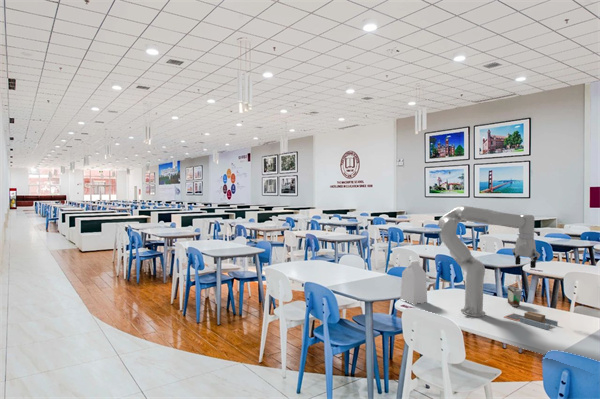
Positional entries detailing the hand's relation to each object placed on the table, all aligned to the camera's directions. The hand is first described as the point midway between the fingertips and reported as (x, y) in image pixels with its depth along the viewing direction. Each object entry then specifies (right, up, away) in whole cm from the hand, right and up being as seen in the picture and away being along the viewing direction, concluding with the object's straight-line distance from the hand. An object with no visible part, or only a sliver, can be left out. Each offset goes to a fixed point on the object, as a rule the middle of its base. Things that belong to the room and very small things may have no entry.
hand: (525, 266), depth 220 cm
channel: (0, -29, -12) cm, 32 cm away
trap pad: (-7, -29, -2) cm, 30 cm away
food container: (+6, -29, +21) cm, 36 cm away
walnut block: (-1, -29, -11) cm, 31 cm away
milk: (-56, -28, +27) cm, 68 cm away
